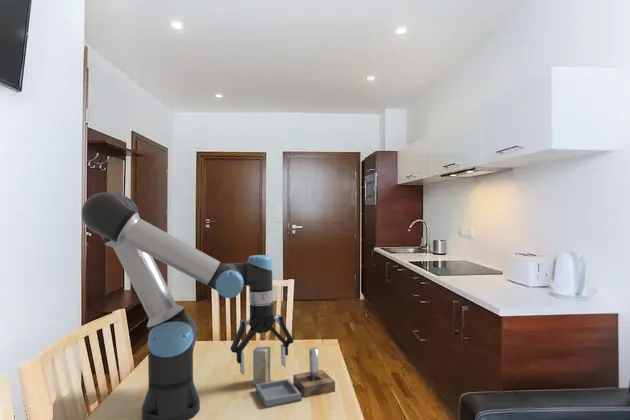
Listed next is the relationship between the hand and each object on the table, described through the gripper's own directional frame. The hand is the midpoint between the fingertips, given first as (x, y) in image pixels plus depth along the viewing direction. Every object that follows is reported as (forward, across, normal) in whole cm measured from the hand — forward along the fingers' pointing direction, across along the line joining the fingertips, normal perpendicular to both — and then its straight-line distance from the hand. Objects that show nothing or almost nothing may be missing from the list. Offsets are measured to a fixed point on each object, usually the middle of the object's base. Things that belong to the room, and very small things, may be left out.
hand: (263, 369), depth 132 cm
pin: (+5, +14, -10) cm, 17 cm away
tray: (+4, +2, -11) cm, 12 cm away
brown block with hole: (+5, +14, -10) cm, 17 cm away
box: (+4, 0, 0) cm, 5 cm away
